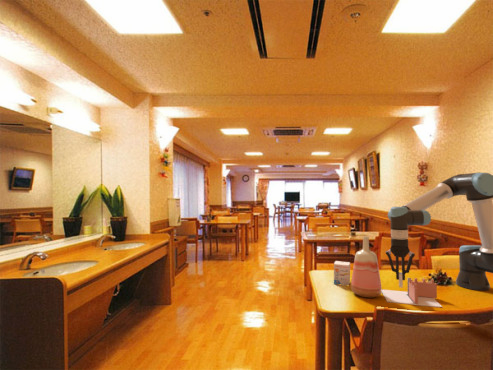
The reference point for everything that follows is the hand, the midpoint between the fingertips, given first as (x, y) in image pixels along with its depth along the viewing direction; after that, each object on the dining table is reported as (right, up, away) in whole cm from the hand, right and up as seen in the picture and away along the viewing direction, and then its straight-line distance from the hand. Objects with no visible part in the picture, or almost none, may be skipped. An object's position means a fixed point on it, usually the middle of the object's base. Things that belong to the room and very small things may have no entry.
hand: (400, 286), depth 141 cm
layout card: (+5, -7, +2) cm, 8 cm away
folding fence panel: (+5, -6, -1) cm, 8 cm away
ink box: (-20, -7, +25) cm, 33 cm away
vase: (-15, -7, +6) cm, 17 cm away
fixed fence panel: (+12, -6, +3) cm, 14 cm away
